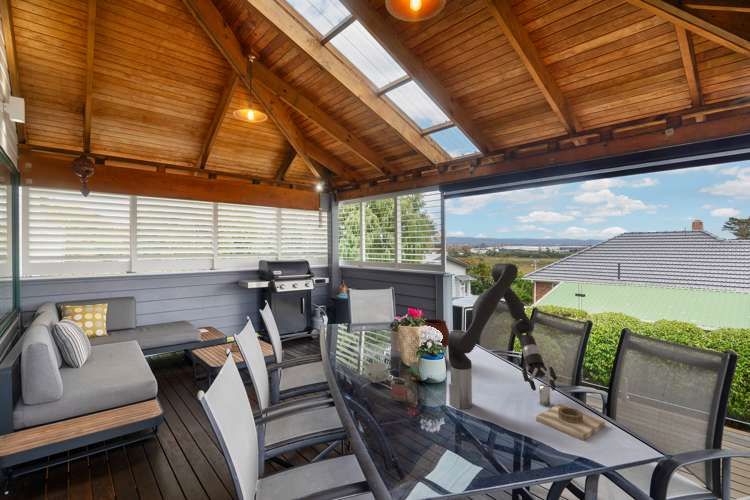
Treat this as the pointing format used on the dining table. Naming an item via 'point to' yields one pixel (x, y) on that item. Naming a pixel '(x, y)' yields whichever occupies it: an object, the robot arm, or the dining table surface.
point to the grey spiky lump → (376, 372)
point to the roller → (544, 395)
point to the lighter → (399, 389)
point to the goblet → (439, 328)
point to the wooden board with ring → (571, 421)
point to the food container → (415, 371)
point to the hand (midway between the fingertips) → (544, 389)
